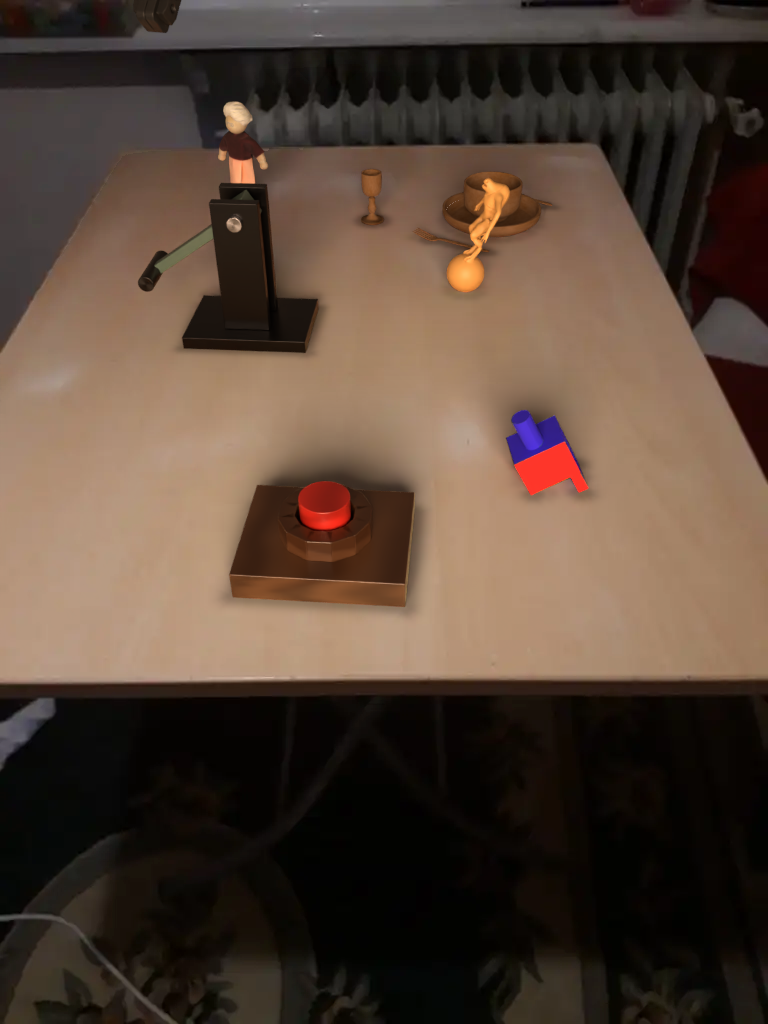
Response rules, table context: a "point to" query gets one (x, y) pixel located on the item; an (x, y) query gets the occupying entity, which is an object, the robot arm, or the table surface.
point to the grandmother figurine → (240, 145)
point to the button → (324, 506)
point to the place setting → (468, 205)
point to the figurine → (478, 239)
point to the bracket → (247, 283)
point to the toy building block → (543, 453)
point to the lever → (178, 253)
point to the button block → (325, 550)
